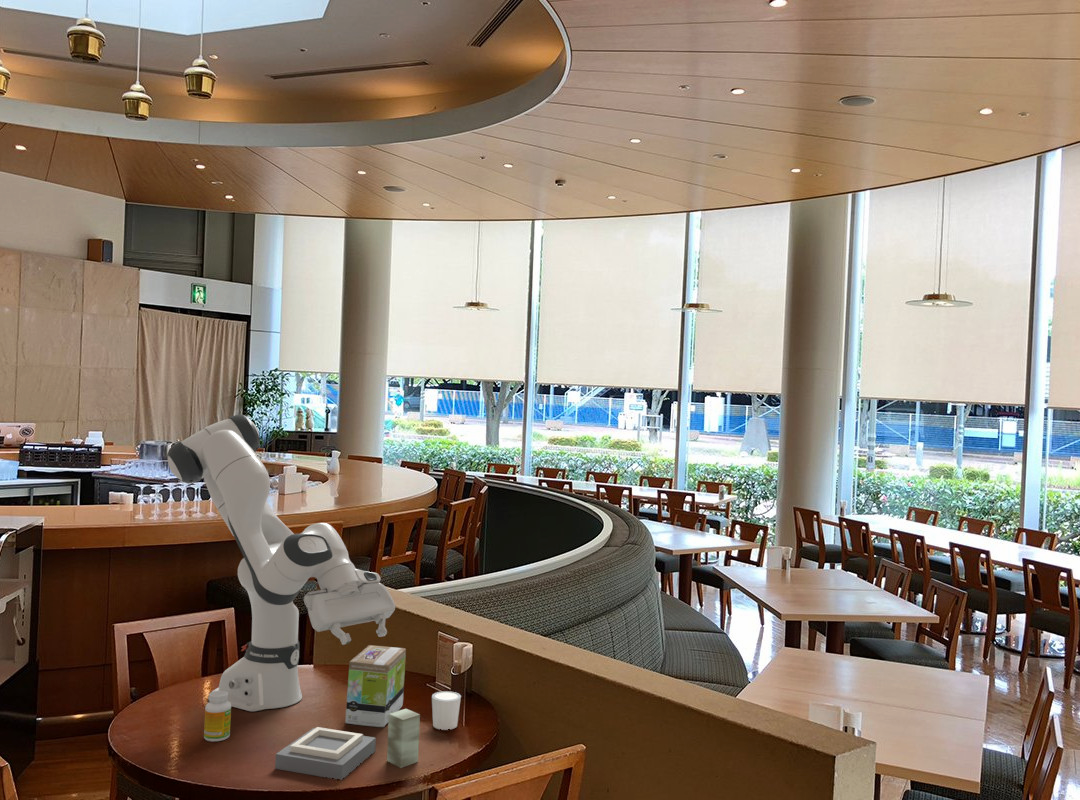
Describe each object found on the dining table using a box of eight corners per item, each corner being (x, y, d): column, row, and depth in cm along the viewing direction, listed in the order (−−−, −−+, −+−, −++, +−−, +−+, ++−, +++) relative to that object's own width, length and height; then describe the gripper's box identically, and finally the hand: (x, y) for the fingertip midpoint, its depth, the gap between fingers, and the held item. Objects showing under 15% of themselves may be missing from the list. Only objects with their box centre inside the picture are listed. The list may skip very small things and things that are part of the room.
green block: (386, 761, 183) (388, 713, 183) (403, 755, 186) (405, 708, 186) (401, 768, 180) (403, 719, 180) (417, 761, 183) (420, 714, 183)
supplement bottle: (227, 741, 189) (229, 697, 189) (201, 742, 188) (203, 697, 188) (231, 732, 194) (233, 689, 194) (206, 732, 193) (208, 689, 193)
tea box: (386, 728, 200) (388, 664, 200) (344, 724, 202) (346, 661, 202) (404, 706, 215) (406, 646, 215) (365, 702, 217) (367, 643, 217)
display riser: (275, 768, 177) (275, 748, 177) (313, 741, 191) (313, 722, 191) (341, 780, 173) (342, 759, 173) (375, 751, 187) (376, 732, 187)
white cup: (454, 732, 200) (456, 702, 200) (426, 728, 201) (427, 698, 201) (463, 721, 206) (464, 692, 206) (435, 718, 208) (437, 689, 208)
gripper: (306, 584, 188) (330, 639, 181) (384, 572, 202) (409, 623, 196) (295, 601, 191) (318, 656, 184) (372, 588, 205) (396, 638, 199)
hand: (365, 639), depth 190 cm, fingers open, 8 cm apart
